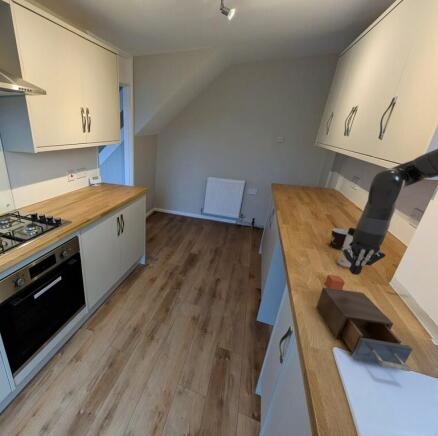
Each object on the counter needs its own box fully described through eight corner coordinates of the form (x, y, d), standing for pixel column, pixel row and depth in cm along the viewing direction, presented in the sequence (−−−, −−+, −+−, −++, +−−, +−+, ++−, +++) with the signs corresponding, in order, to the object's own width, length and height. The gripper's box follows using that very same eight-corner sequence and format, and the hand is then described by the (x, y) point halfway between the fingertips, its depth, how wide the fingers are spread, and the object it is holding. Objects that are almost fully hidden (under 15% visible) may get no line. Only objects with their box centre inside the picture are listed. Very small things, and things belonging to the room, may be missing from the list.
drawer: (415, 385, 61) (427, 365, 58) (364, 375, 63) (373, 355, 60) (370, 331, 77) (378, 313, 75) (331, 324, 80) (337, 307, 77)
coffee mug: (327, 242, 141) (332, 227, 138) (345, 246, 137) (351, 230, 133) (327, 249, 132) (332, 233, 129) (347, 254, 128) (352, 237, 124)
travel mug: (340, 267, 115) (353, 230, 108) (335, 261, 121) (347, 225, 114) (355, 270, 113) (370, 232, 106) (350, 263, 119) (363, 226, 112)
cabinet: (382, 346, 73) (393, 323, 70) (336, 338, 75) (344, 316, 72) (355, 313, 86) (363, 292, 83) (316, 307, 89) (322, 287, 86)
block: (336, 284, 102) (339, 275, 101) (341, 290, 98) (344, 282, 97) (324, 283, 103) (327, 274, 102) (329, 289, 99) (332, 280, 98)
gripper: (355, 231, 76) (339, 277, 83) (403, 235, 74) (382, 282, 80) (342, 223, 83) (328, 265, 89) (386, 226, 81) (368, 270, 87)
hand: (354, 273), depth 85 cm, fingers closed
